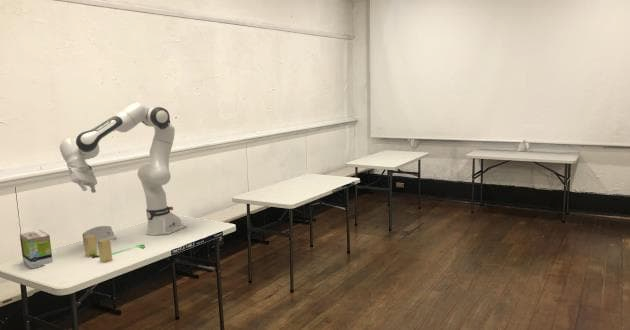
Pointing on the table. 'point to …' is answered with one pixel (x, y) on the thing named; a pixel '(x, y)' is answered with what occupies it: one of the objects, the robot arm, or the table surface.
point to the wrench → (129, 248)
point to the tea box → (36, 248)
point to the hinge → (100, 233)
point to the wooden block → (90, 245)
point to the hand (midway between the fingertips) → (89, 191)
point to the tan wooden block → (105, 250)
